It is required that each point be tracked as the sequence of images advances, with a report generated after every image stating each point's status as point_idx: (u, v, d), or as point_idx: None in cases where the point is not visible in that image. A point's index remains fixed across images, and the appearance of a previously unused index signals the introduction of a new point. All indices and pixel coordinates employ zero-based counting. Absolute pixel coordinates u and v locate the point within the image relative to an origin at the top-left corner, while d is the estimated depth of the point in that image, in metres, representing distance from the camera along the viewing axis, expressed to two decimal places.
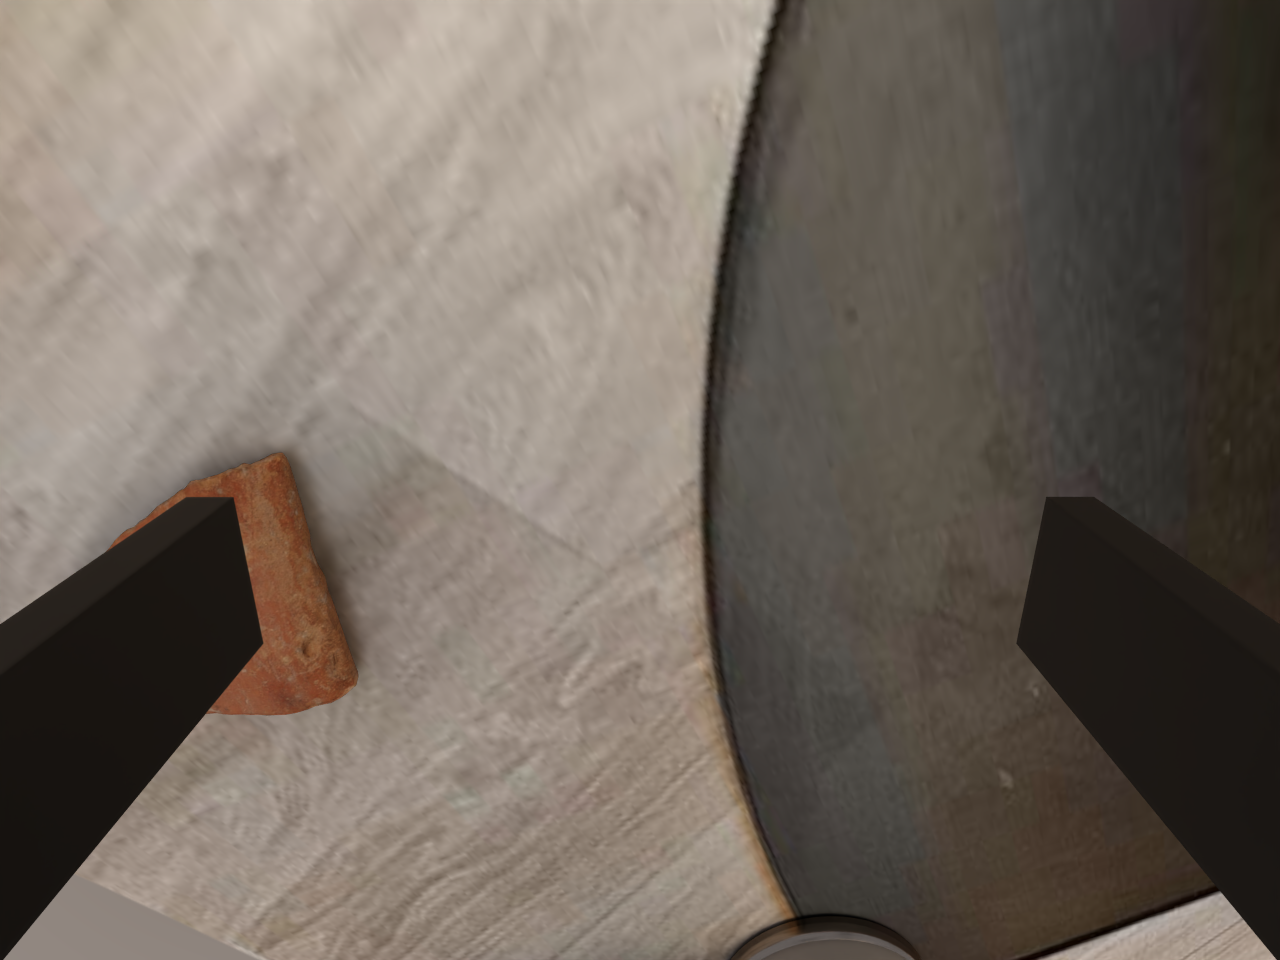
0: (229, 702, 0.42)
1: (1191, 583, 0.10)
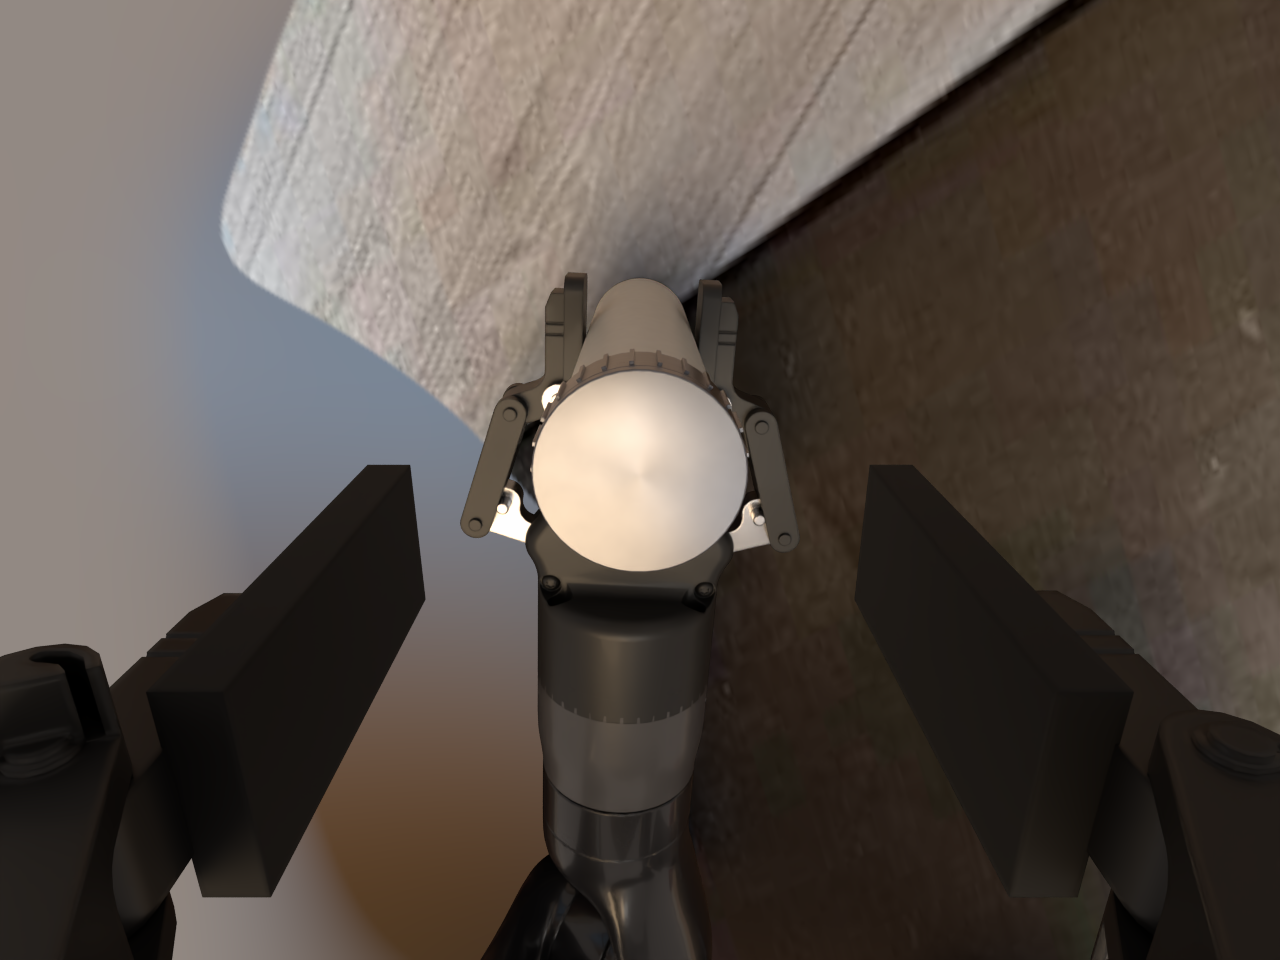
0: None
1: (953, 532, 0.11)
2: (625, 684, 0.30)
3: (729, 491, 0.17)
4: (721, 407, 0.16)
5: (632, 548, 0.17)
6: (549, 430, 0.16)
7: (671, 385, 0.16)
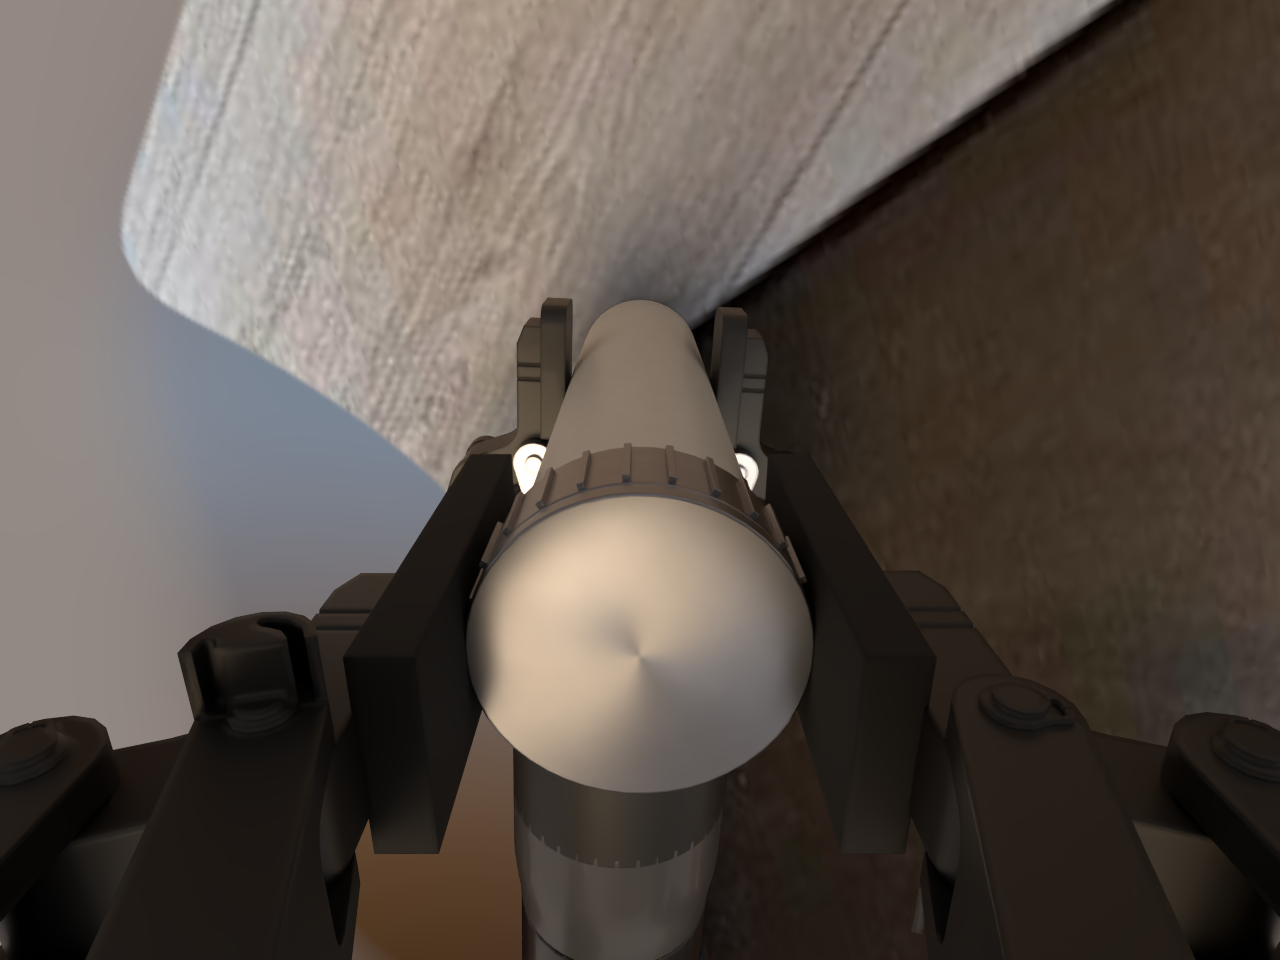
0: None
1: (824, 515, 0.11)
2: (621, 821, 0.23)
3: (784, 678, 0.11)
4: (774, 553, 0.10)
5: (628, 760, 0.11)
6: (491, 588, 0.10)
7: (692, 518, 0.10)
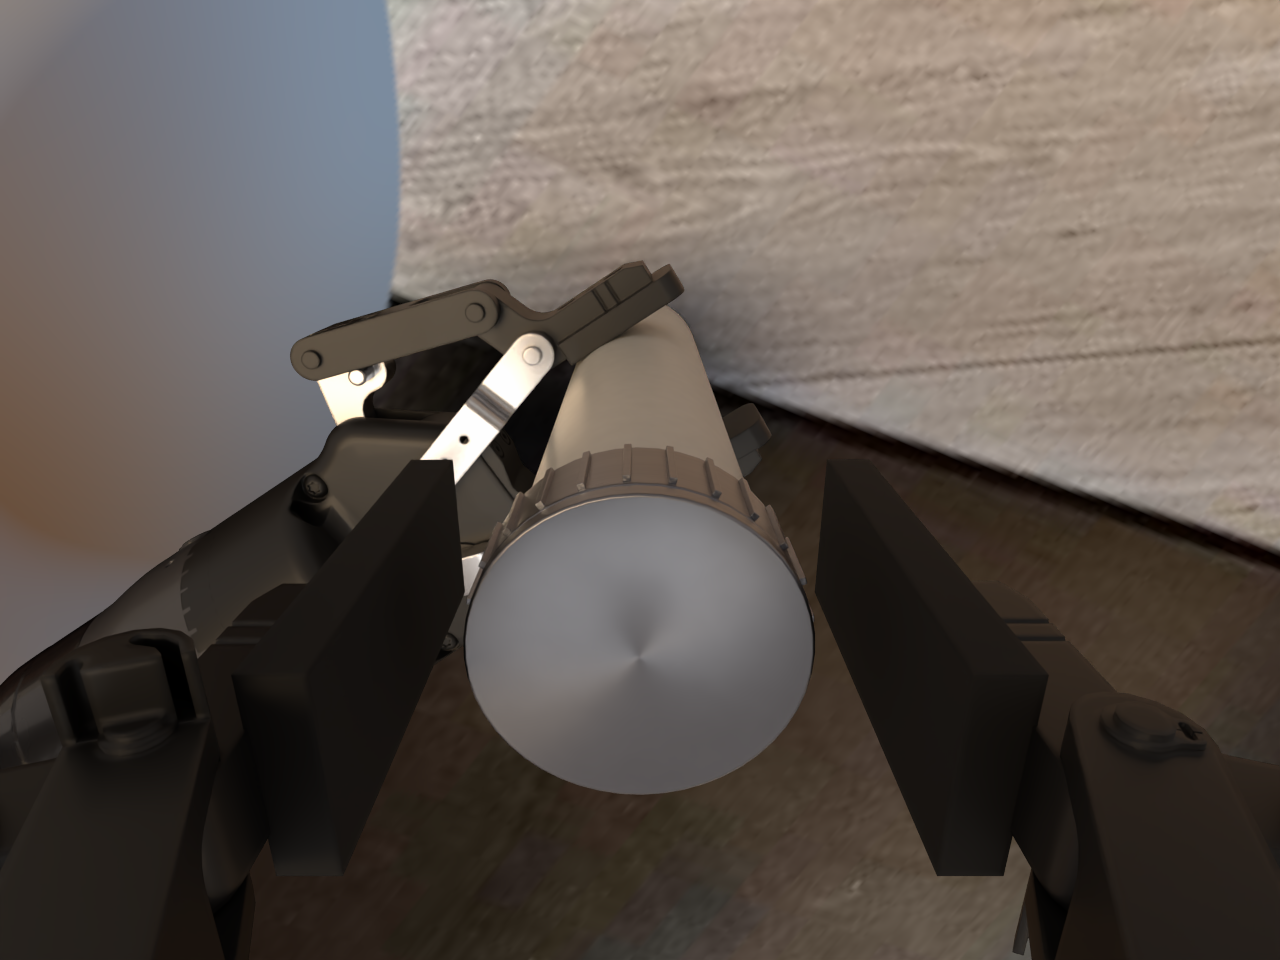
0: None
1: (898, 524, 0.11)
2: None
3: (769, 585, 0.10)
4: (655, 499, 0.10)
5: (715, 741, 0.11)
6: (484, 691, 0.11)
7: (567, 526, 0.10)
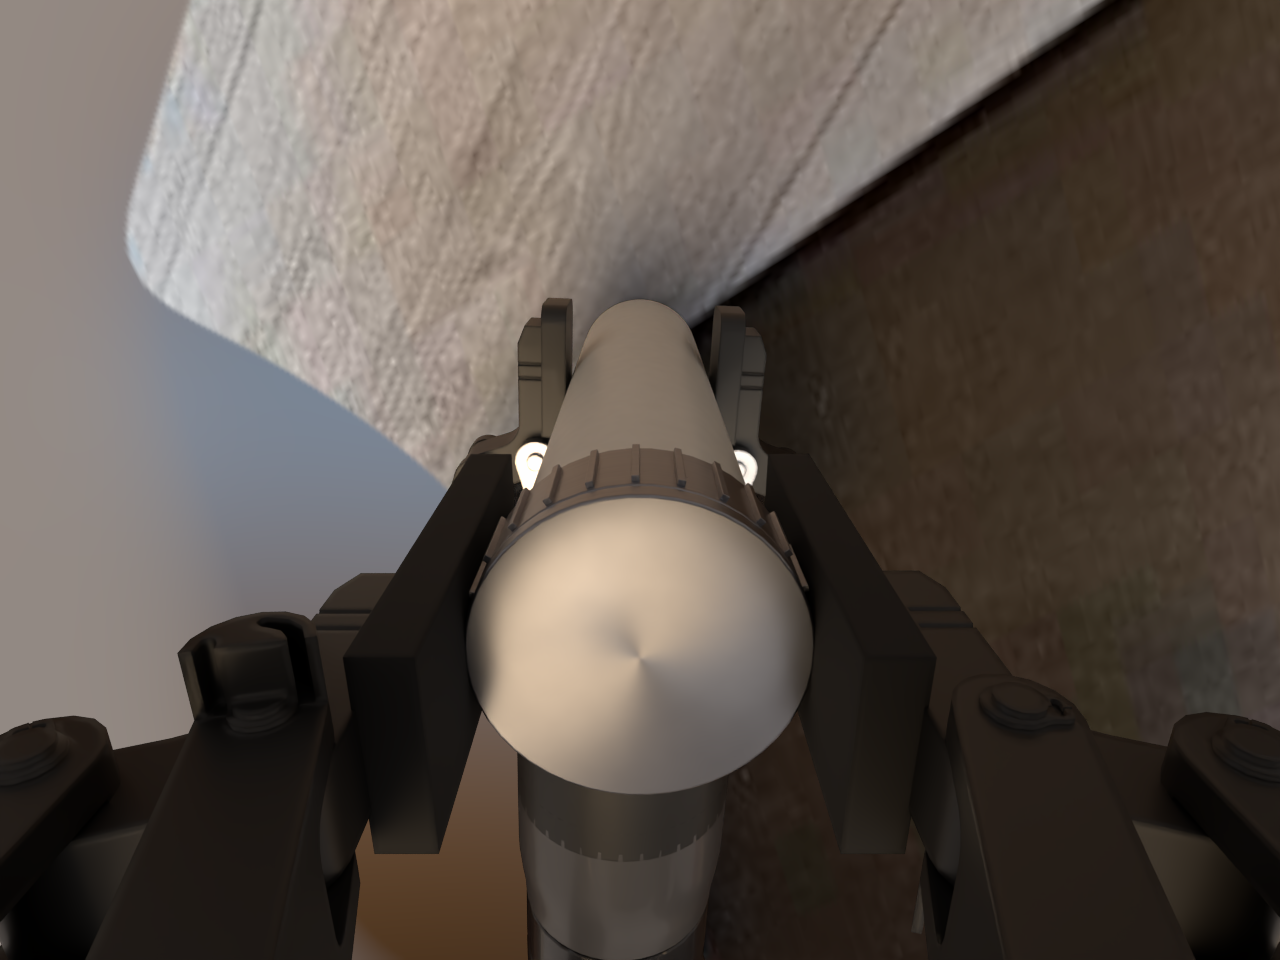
0: None
1: (824, 516, 0.11)
2: (624, 815, 0.24)
3: (646, 521, 0.10)
4: (499, 559, 0.10)
5: (770, 652, 0.10)
6: (586, 779, 0.11)
7: (482, 633, 0.10)
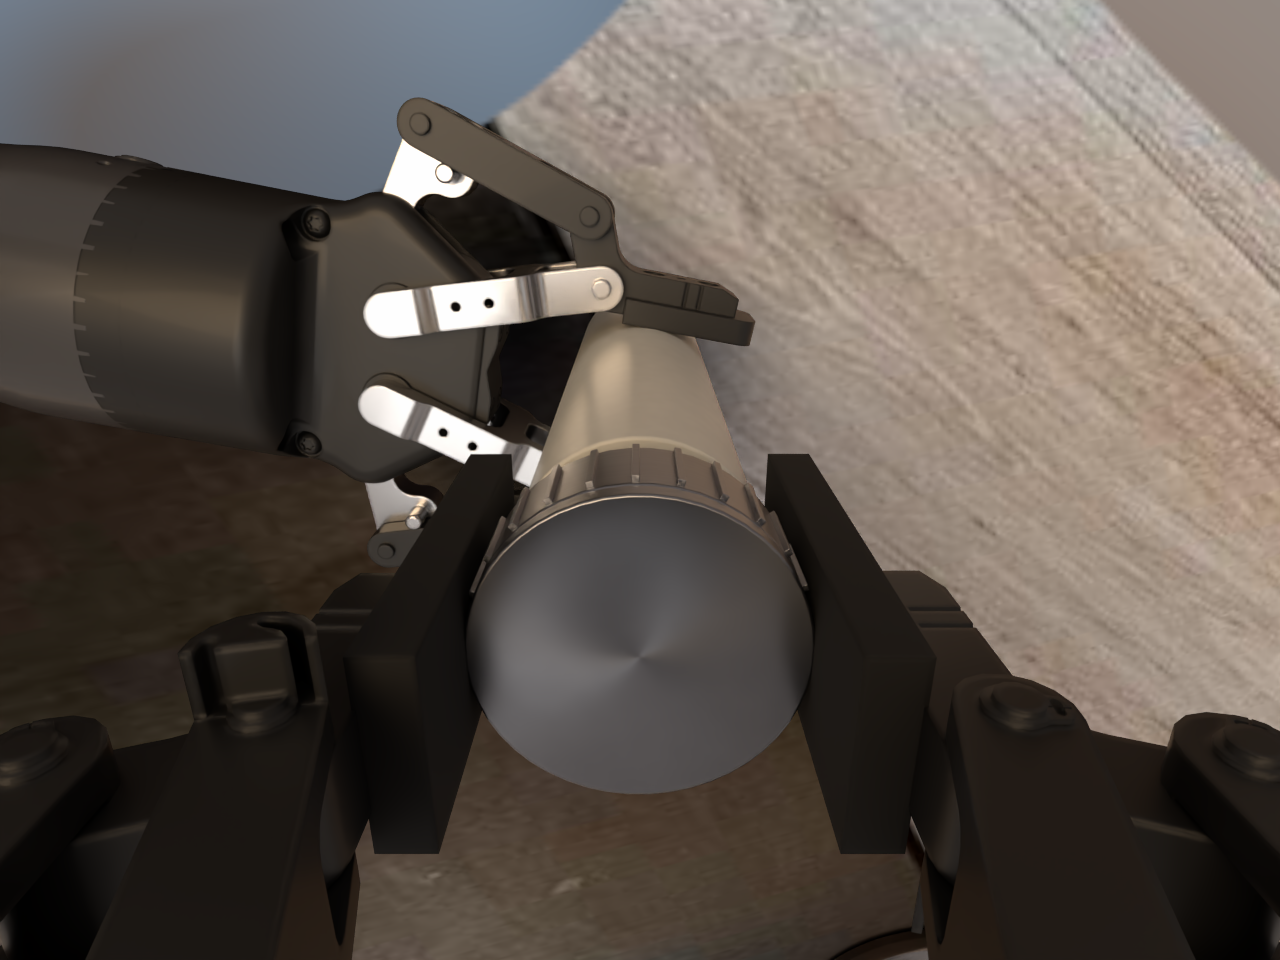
0: None
1: (824, 515, 0.11)
2: (153, 343, 0.19)
3: (646, 520, 0.10)
4: (500, 559, 0.10)
5: (770, 652, 0.10)
6: (586, 778, 0.11)
7: (482, 633, 0.10)
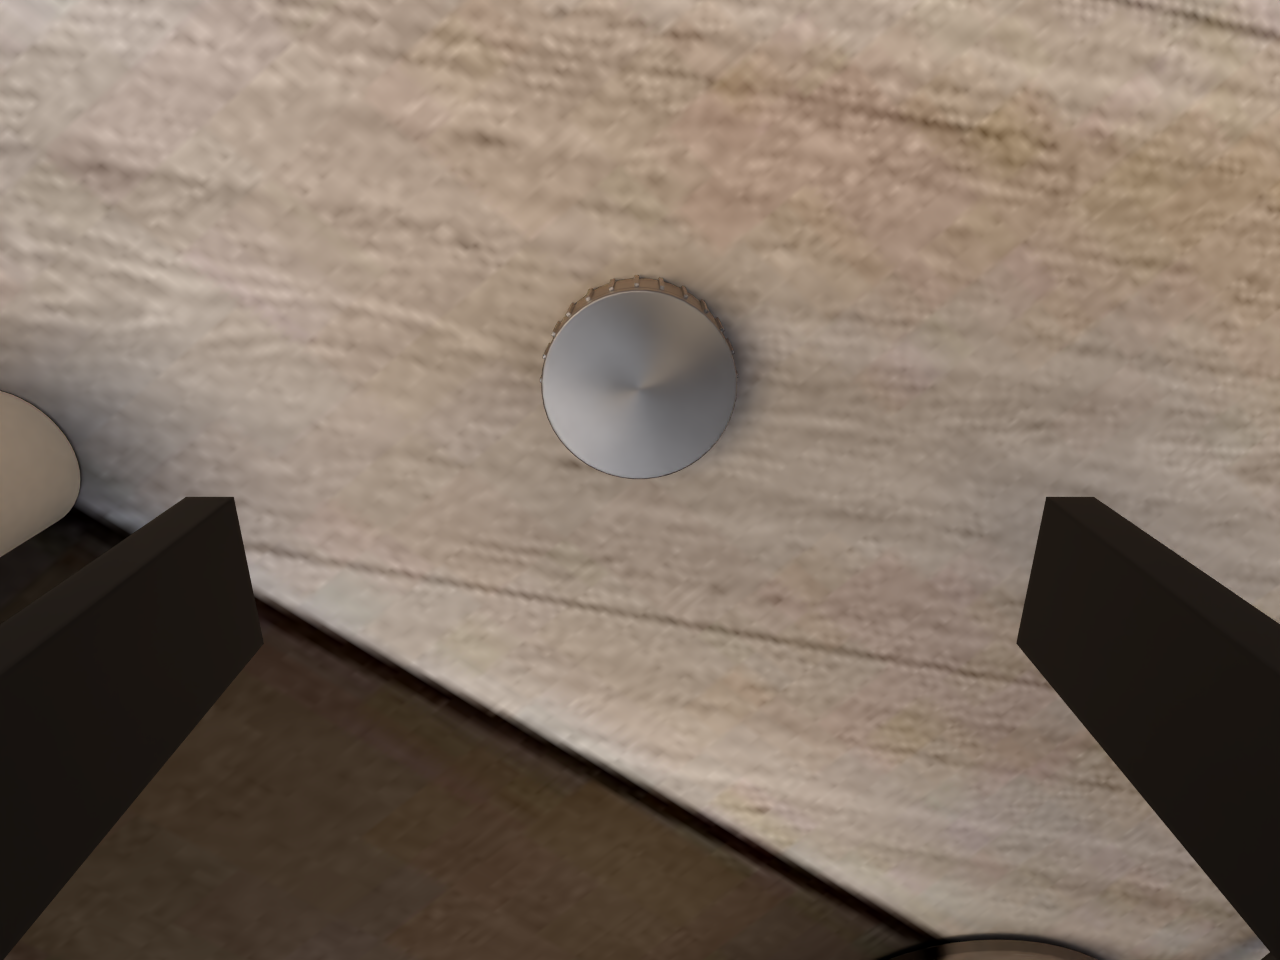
0: None
1: (1191, 583, 0.10)
2: None
3: (642, 305, 0.18)
4: (562, 328, 0.18)
5: (711, 386, 0.19)
6: (608, 468, 0.19)
7: (551, 374, 0.18)
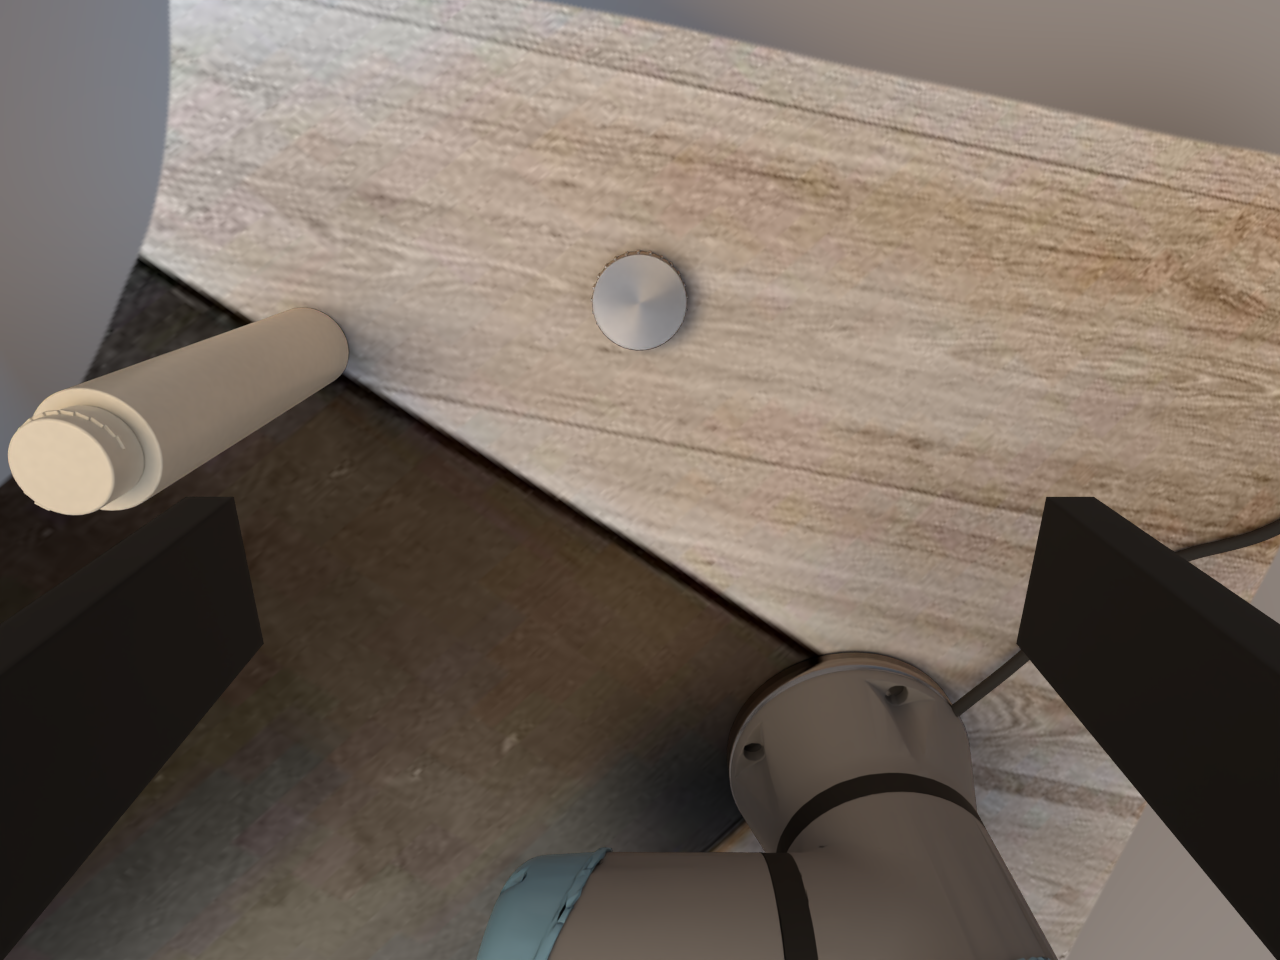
0: None
1: (1191, 583, 0.10)
2: None
3: (641, 261, 0.38)
4: (603, 272, 0.38)
5: (674, 301, 0.38)
6: (624, 344, 0.39)
7: (597, 295, 0.38)
